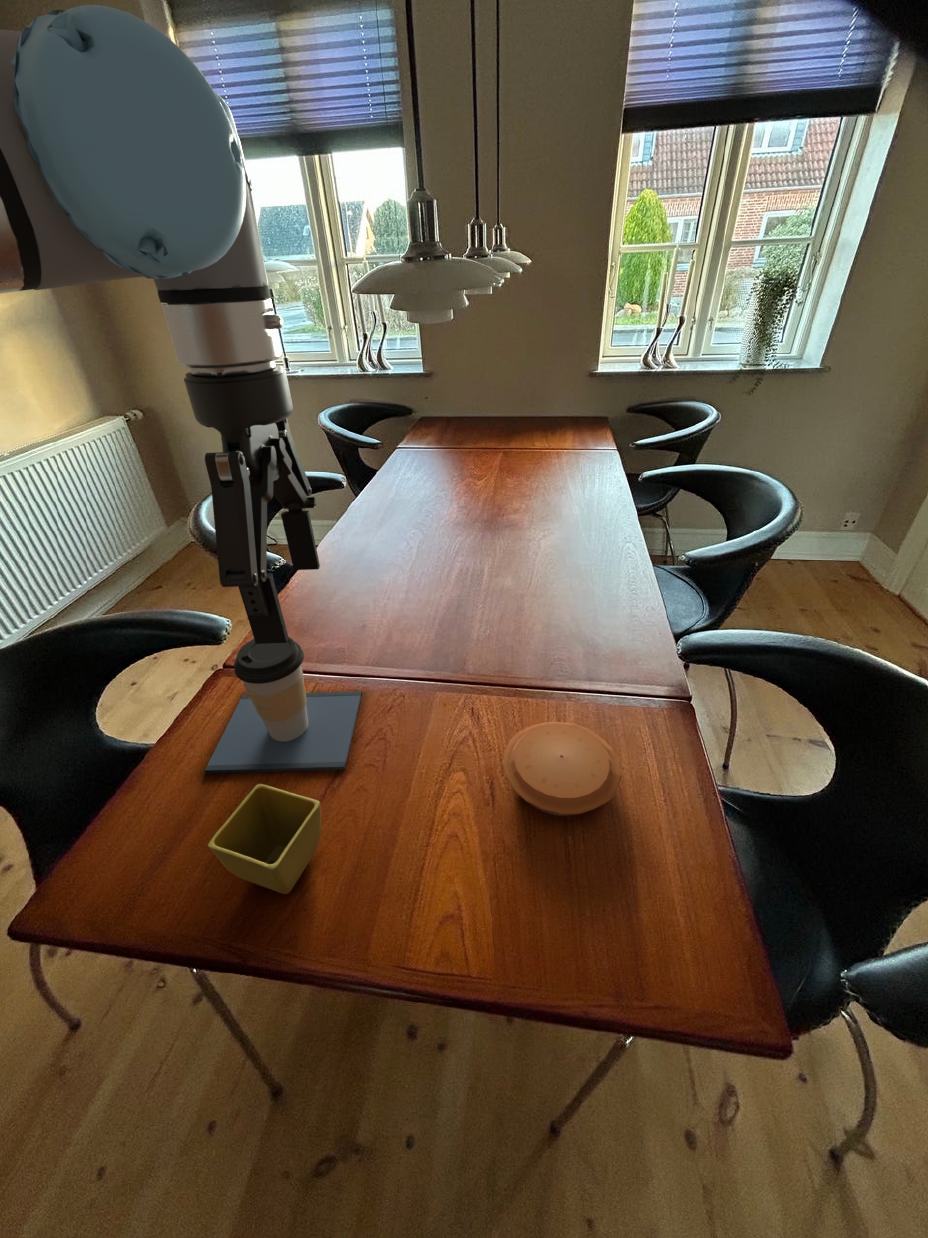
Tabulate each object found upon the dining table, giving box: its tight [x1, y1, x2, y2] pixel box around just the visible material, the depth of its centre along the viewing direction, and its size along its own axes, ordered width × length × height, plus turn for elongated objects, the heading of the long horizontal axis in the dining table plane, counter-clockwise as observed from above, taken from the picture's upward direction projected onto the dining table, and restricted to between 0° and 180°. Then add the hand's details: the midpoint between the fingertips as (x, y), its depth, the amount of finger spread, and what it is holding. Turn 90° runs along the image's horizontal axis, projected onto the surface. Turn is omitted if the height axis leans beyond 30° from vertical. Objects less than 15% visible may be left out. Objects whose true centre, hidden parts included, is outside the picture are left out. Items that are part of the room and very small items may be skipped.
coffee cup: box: [233, 636, 308, 742], centre depth 78 cm, size 9×9×15 cm
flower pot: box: [207, 783, 323, 895], centre depth 61 cm, size 9×9×9 cm
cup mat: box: [204, 690, 363, 774], centre depth 82 cm, size 20×16×1 cm
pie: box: [501, 721, 623, 817], centre depth 71 cm, size 16×16×5 cm
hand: (291, 601), depth 53 cm, fingers open, 13 cm apart
